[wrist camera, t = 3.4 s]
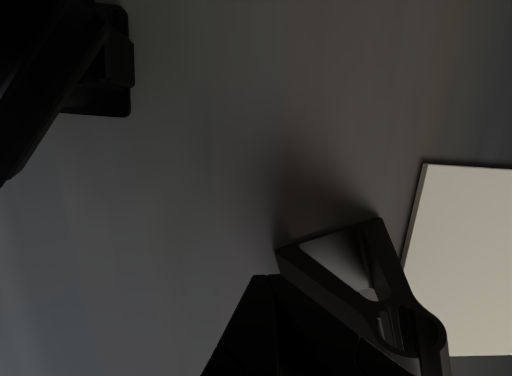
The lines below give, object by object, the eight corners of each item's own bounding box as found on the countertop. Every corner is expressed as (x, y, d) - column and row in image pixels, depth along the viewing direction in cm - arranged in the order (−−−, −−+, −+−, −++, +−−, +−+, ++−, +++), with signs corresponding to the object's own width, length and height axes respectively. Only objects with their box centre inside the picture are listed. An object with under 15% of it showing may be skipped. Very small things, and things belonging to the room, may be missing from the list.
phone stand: (379, 216, 23) (533, 320, 12) (390, 278, 25) (534, 423, 13) (273, 248, 23) (322, 388, 11) (291, 308, 24) (349, 483, 13)
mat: (379, 352, 27) (383, 357, 26) (423, 163, 22) (428, 164, 22) (528, 349, 29) (535, 354, 28) (596, 174, 24) (605, 176, 24)
